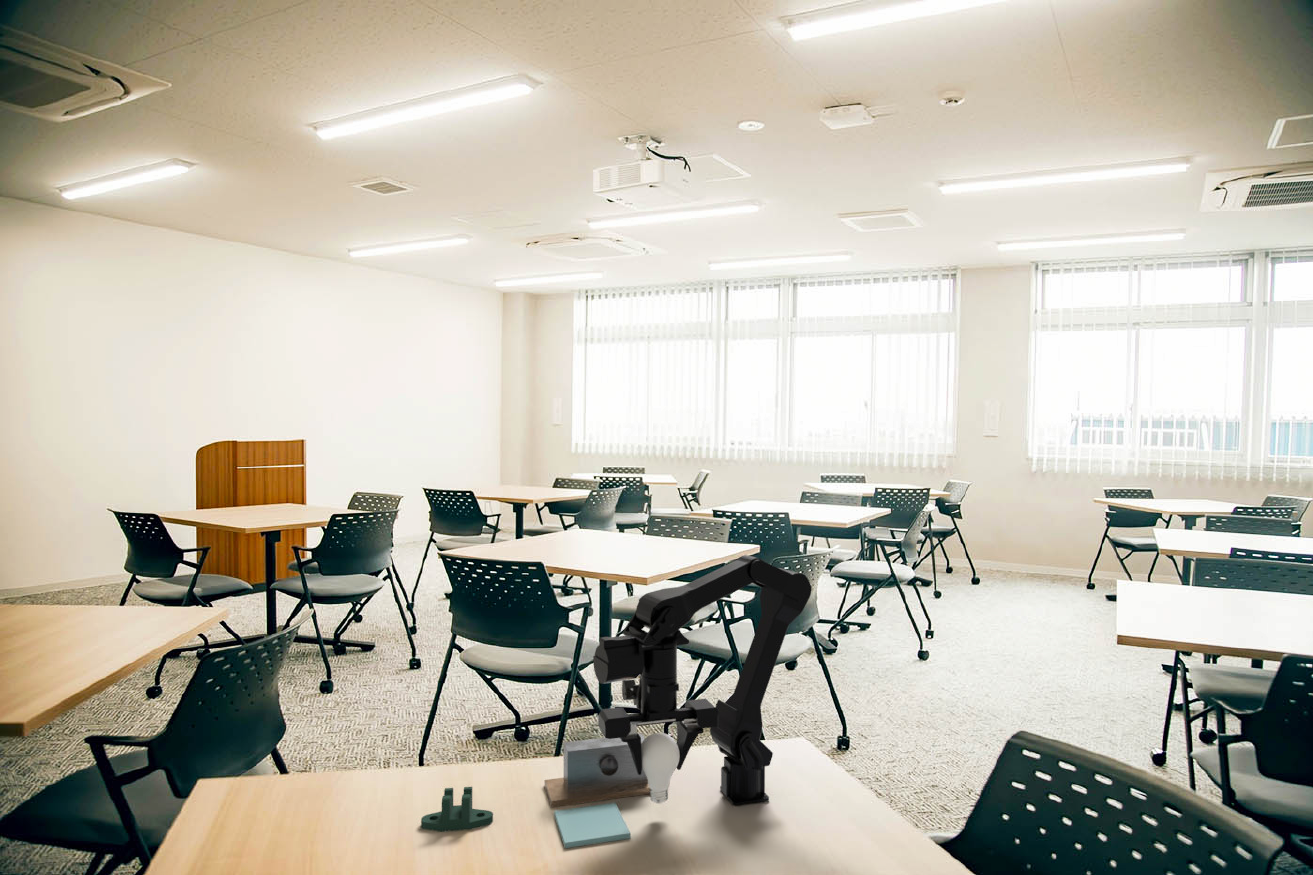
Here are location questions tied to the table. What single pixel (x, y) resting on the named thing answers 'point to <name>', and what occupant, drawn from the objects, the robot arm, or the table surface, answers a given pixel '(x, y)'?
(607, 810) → the pad
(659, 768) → the light bulb
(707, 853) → the table surface
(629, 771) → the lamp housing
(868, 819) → the table surface
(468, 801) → the mount
